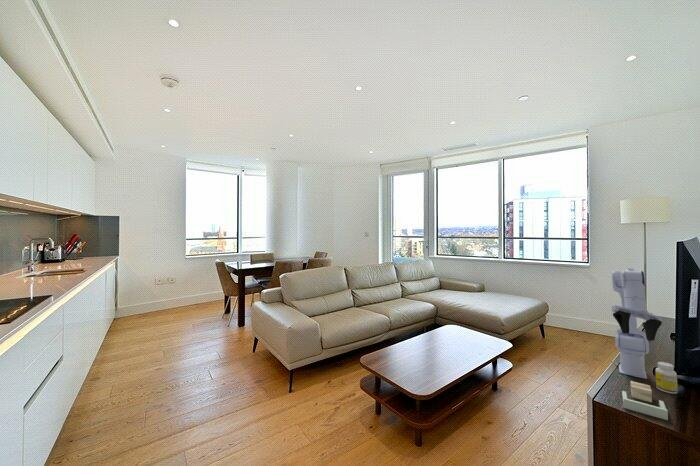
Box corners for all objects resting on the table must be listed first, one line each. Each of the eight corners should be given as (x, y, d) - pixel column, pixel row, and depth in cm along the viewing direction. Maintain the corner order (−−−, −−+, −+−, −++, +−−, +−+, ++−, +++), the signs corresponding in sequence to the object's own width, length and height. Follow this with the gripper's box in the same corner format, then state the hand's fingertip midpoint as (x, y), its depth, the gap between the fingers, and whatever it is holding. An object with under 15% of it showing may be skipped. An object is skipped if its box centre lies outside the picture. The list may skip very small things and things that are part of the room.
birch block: (630, 391, 104) (630, 380, 104) (650, 396, 101) (649, 385, 101) (631, 397, 101) (631, 386, 101) (652, 402, 97) (651, 391, 97)
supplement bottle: (654, 384, 108) (653, 359, 108) (675, 389, 105) (674, 363, 105) (657, 390, 104) (656, 364, 104) (679, 395, 101) (678, 368, 101)
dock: (622, 396, 101) (622, 387, 101) (663, 407, 94) (663, 398, 94) (623, 407, 94) (623, 398, 95) (668, 420, 88) (667, 410, 88)
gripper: (620, 292, 103) (623, 328, 97) (667, 304, 99) (673, 342, 94) (606, 296, 109) (608, 331, 103) (650, 308, 106) (654, 344, 100)
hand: (638, 336), depth 99 cm, fingers open, 7 cm apart
